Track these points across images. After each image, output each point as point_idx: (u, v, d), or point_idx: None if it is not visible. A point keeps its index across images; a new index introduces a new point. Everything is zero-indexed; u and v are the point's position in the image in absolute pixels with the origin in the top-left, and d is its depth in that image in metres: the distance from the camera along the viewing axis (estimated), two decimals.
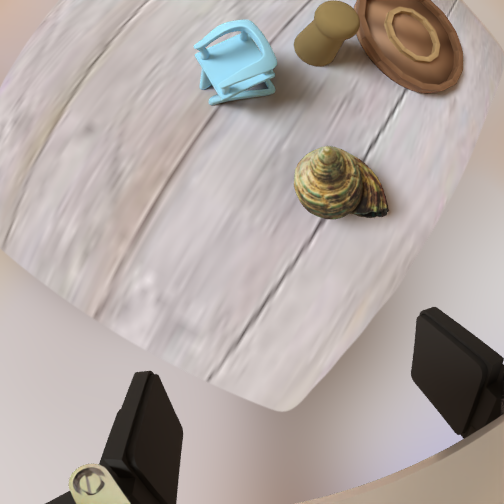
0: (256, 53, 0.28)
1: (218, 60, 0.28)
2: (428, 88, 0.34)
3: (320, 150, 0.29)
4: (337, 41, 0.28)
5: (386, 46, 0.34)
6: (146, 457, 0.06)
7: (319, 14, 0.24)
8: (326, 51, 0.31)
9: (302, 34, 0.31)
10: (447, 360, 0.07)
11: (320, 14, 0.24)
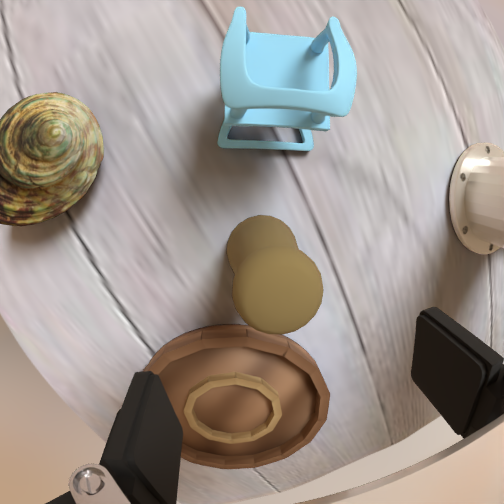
0: (279, 117, 0.17)
1: (298, 60, 0.16)
2: None
3: (65, 126, 0.14)
4: None
5: (224, 361, 0.28)
6: (146, 457, 0.06)
7: (300, 258, 0.16)
8: (237, 249, 0.22)
9: (287, 234, 0.23)
10: (447, 360, 0.07)
11: (299, 259, 0.16)
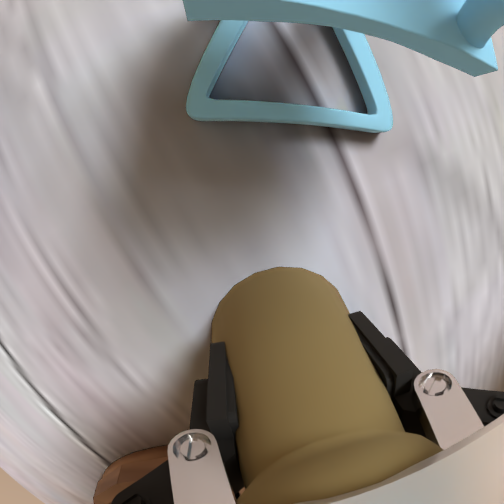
0: (375, 1, 0.04)
1: None
2: None
3: None
4: (245, 467, 0.06)
5: None
6: None
7: None
8: (234, 375, 0.08)
9: (349, 322, 0.09)
10: None
11: None
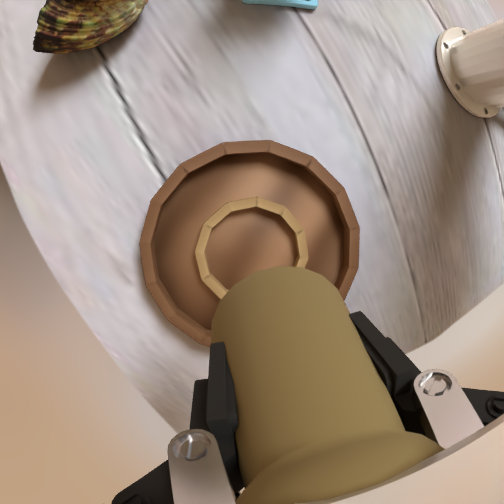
0: None
1: None
2: (149, 212, 0.25)
3: None
4: (245, 467, 0.06)
5: (244, 181, 0.27)
6: None
7: None
8: (234, 375, 0.08)
9: (349, 322, 0.09)
10: None
11: None
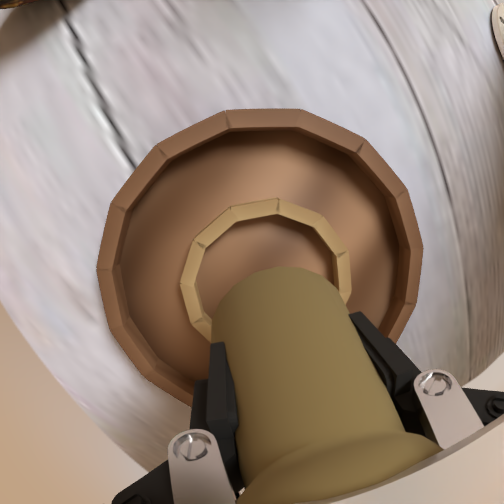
0: None
1: None
2: (109, 221, 0.15)
3: None
4: (245, 467, 0.06)
5: (257, 174, 0.17)
6: None
7: None
8: (234, 375, 0.08)
9: (349, 322, 0.09)
10: None
11: None
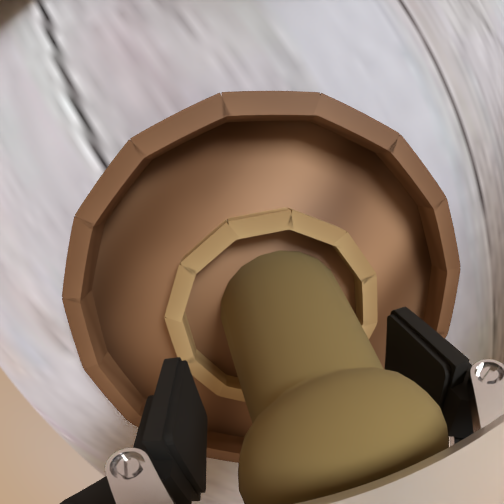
0: None
1: None
2: (73, 240, 0.12)
3: None
4: (254, 407, 0.07)
5: (263, 177, 0.13)
6: (181, 439, 0.07)
7: (426, 421, 0.04)
8: (243, 336, 0.10)
9: (340, 295, 0.11)
10: (414, 359, 0.08)
11: (426, 428, 0.04)
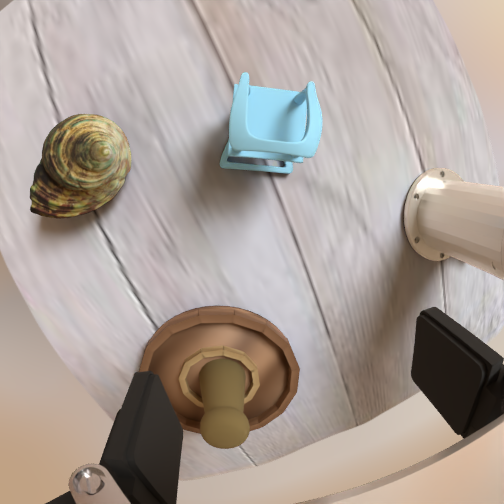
0: (267, 152, 0.25)
1: (283, 109, 0.24)
2: (145, 354, 0.33)
3: (111, 147, 0.22)
4: (205, 411, 0.30)
5: (214, 335, 0.35)
6: (146, 457, 0.06)
7: (235, 420, 0.27)
8: (204, 391, 0.32)
9: (237, 380, 0.34)
10: (447, 360, 0.07)
11: (234, 421, 0.27)
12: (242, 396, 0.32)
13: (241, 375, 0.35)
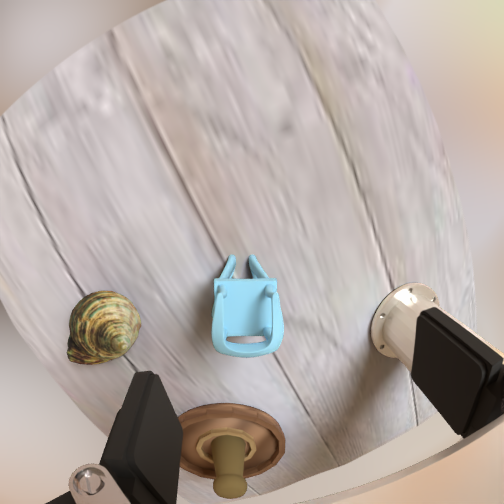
0: (245, 331, 0.33)
1: (257, 297, 0.32)
2: None
3: (126, 339, 0.30)
4: (216, 475, 0.38)
5: (220, 422, 0.43)
6: (146, 457, 0.06)
7: (236, 484, 0.35)
8: (215, 460, 0.40)
9: (238, 451, 0.41)
10: (447, 360, 0.07)
11: (236, 485, 0.34)
12: (242, 462, 0.40)
13: (241, 446, 0.43)
